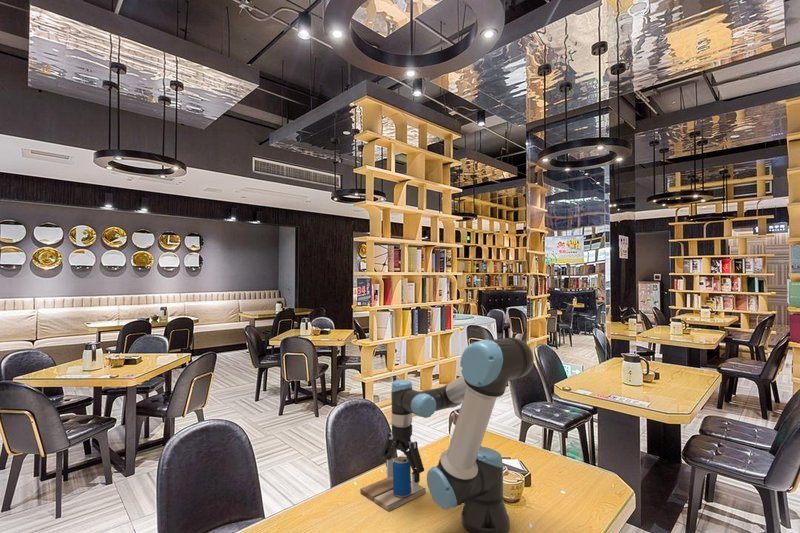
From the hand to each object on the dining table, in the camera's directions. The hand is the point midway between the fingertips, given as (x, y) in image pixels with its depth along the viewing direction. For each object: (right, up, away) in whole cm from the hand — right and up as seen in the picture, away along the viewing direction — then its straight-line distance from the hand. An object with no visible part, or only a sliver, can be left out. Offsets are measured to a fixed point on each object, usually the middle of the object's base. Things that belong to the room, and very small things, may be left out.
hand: (402, 483), depth 141 cm
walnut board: (-6, -6, +7) cm, 11 cm away
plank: (-1, -5, 0) cm, 5 cm away
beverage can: (0, -4, 0) cm, 4 cm away
